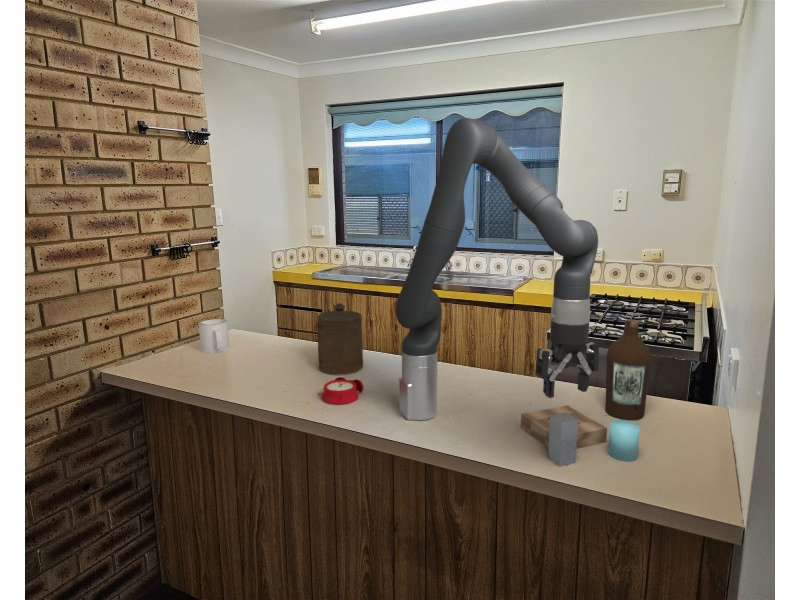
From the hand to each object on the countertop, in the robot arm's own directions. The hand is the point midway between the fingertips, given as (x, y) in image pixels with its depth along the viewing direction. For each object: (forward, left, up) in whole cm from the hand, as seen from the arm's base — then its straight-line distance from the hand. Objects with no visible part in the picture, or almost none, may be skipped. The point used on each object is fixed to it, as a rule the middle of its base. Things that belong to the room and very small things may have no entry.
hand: (566, 393), depth 108 cm
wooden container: (-29, +78, -16) cm, 85 cm away
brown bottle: (+31, +14, -16) cm, 37 cm away
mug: (-68, +116, -16) cm, 135 cm away
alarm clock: (-35, +54, -16) cm, 66 cm away
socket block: (+8, +10, -15) cm, 20 cm away
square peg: (0, 0, -15) cm, 15 cm away
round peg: (+14, -3, -15) cm, 21 cm away
